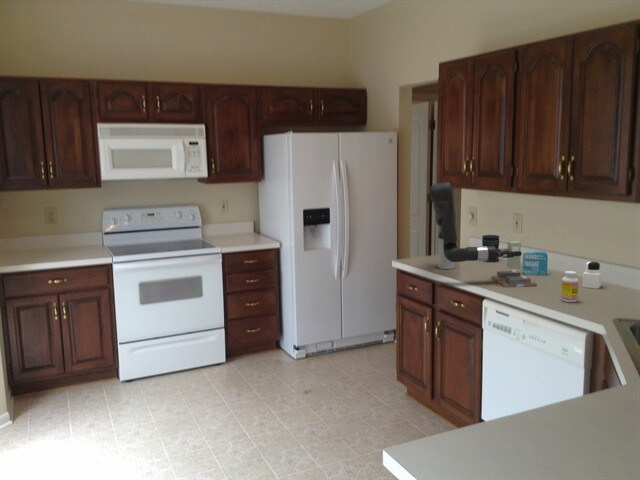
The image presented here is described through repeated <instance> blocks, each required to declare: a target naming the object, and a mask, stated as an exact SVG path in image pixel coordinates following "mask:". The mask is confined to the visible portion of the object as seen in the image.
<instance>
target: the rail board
mask: <svg viewBox="0 0 640 480" xmlns="http://www.w3.org/2000/svg"><path fill="white" fill-rule="evenodd" d="M490 278H491V279H492V280H493V281H495V282H496V283H497V284H499V285H500V286H501V287H503V288H517V287H518V288H521V287H522V288H523V287H525V288H526V287H537V285H538V284H537V283H536V282H534V281H533V280H531V277H529V276H526V275H524V274H521V271H518V270H515V269H511V270H497V271H496V275H491V276H490Z"/></svg>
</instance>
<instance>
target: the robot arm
mask: <svg viewBox="0 0 640 480" xmlns="http://www.w3.org/2000/svg"><path fill="white" fill-rule="evenodd" d="M429 196H430V199H431V202H432V205H433V210H434V213H435V223H436V224H437V226H438V227H439V226H440V229H441V231H440V232H438V239H437V240H438V241H437V243H438V247H437V248H438V249H437V251H438V253H437V255H438V257H437V258H438V259H437V264H438V265H437V266H438V267H437V268H438V269H440V270H453V269H455V267H456V266H455V265H456V263H459V262H460V263H461V262H467V261H468V262H474V261H475V262H476V261H477V262H483V261H495V260H496V257H497V256H498V257H499V259H501V258H502V259H507V258H511V257H514V256H520V257H521V256H522V251H521V250H520V251H516V252H513V251H509V250H507V248H499V249H497V248H496V247H495V246H483V245H480V246H466V247H459V248H458V246H457V241H458V235H457V230H456V219H457V218H456V216H457V215H456V210H455V202H454V201H455V199H454V191H453V185H452V184H451V183H450V182H449V181H446V182H440V183H434V184H432V185H431V186H430V188H429ZM510 254H511V255H510Z"/></svg>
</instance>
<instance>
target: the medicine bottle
mask: <svg viewBox="0 0 640 480" xmlns="http://www.w3.org/2000/svg"><path fill="white" fill-rule="evenodd" d="M600 268H601V263H599V262H598V261H587V262H585V271H584V272H583V273H582V288H585V289H587V288H588V289H595V290H598V289H600V288H601V286H602V271H600Z"/></svg>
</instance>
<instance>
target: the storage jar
mask: <svg viewBox="0 0 640 480" xmlns="http://www.w3.org/2000/svg"><path fill="white" fill-rule="evenodd" d="M481 237H482V240H481V246H495V247H496V248H497V249H500V247H499V246H500V236H499V235H497V234H495V235H494V234H484V235H482V236H481ZM499 261H500V258H499V257H498V256H497V257H496V260H495V261H482V262H483V263H498V262H499Z"/></svg>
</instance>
